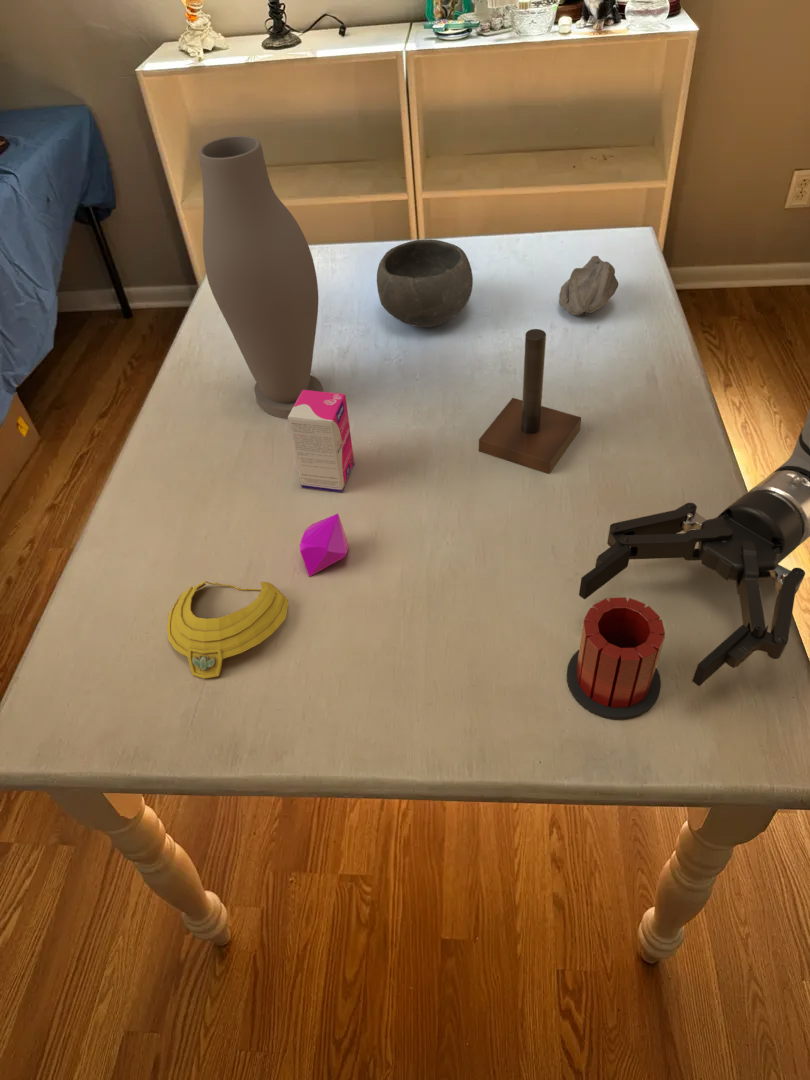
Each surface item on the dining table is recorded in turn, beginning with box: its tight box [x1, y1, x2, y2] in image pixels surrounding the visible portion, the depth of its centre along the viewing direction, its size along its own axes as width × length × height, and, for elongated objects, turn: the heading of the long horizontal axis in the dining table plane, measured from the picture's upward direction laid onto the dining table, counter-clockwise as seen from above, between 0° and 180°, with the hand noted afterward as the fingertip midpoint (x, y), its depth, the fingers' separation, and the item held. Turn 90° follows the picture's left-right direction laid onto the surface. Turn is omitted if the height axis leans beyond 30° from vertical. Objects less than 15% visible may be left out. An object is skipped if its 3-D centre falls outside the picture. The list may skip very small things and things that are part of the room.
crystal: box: [299, 513, 350, 578], centre depth 90 cm, size 5×5×5 cm
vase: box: [198, 135, 324, 419], centre depth 101 cm, size 13×13×35 cm
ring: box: [576, 596, 666, 708], centre depth 74 cm, size 7×7×8 cm
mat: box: [566, 649, 662, 721], centre depth 77 cm, size 9×9×1 cm
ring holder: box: [478, 328, 582, 475], centre depth 98 cm, size 10×10×16 cm
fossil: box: [558, 255, 619, 316], centre depth 122 cm, size 11×9×8 cm
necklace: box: [166, 580, 290, 679], centre depth 85 cm, size 13×13×4 cm
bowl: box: [376, 239, 474, 328], centre depth 123 cm, size 15×15×10 cm
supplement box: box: [287, 390, 355, 493], centre depth 97 cm, size 6×6×12 cm
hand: (637, 630), depth 74 cm, fingers open, 13 cm apart
